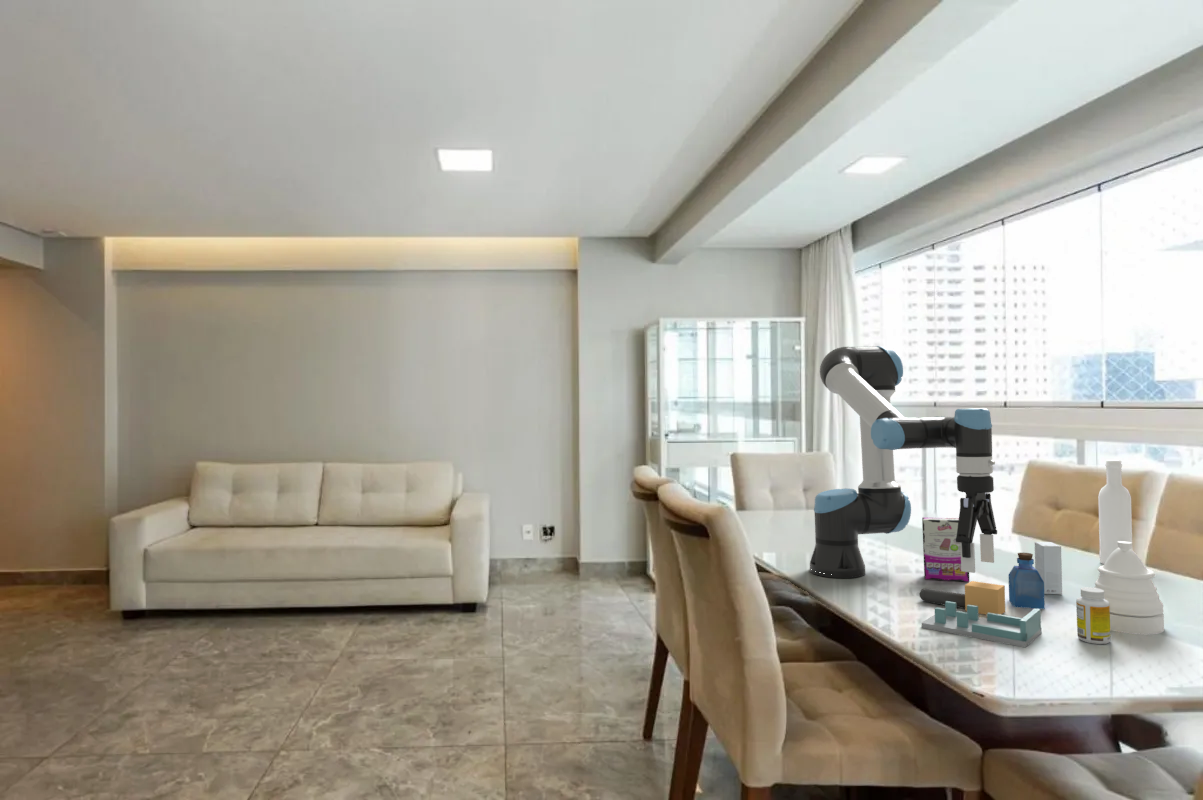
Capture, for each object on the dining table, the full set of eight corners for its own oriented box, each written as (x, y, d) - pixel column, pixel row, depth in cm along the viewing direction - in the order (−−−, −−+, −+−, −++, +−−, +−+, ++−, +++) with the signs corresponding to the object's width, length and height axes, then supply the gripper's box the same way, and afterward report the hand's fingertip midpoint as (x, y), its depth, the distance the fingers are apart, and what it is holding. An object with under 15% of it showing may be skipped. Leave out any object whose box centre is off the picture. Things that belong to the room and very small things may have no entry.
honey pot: (1167, 638, 148) (1165, 548, 148) (1091, 628, 155) (1089, 543, 155) (1160, 621, 159) (1158, 538, 159) (1089, 613, 166) (1087, 533, 166)
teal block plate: (921, 627, 158) (920, 604, 158) (941, 615, 167) (941, 593, 167) (1025, 647, 144) (1024, 621, 144) (1041, 632, 153) (1041, 608, 153)
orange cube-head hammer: (916, 602, 177) (915, 577, 177) (923, 598, 181) (923, 574, 181) (998, 616, 164) (997, 589, 164) (1005, 611, 168) (1004, 585, 168)
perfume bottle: (1038, 602, 175) (1036, 551, 175) (1044, 609, 170) (1043, 557, 170) (1009, 600, 177) (1007, 550, 177) (1014, 607, 172) (1013, 556, 172)
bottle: (1132, 562, 213) (1129, 459, 213) (1134, 568, 206) (1131, 461, 206) (1099, 560, 217) (1096, 458, 217) (1100, 565, 211) (1097, 460, 211)
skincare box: (1063, 594, 181) (1061, 546, 181) (1044, 594, 182) (1042, 546, 182) (1053, 588, 187) (1052, 541, 187) (1034, 588, 188) (1033, 541, 188)
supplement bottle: (1116, 641, 146) (1114, 590, 146) (1102, 647, 143) (1101, 594, 143) (1085, 634, 151) (1084, 584, 151) (1071, 639, 148) (1070, 588, 148)
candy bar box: (968, 578, 200) (966, 517, 200) (969, 582, 195) (968, 520, 195) (923, 575, 204) (921, 516, 204) (923, 579, 199) (922, 519, 199)
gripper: (974, 479, 158) (978, 578, 158) (1008, 471, 176) (1012, 559, 176) (938, 478, 163) (941, 573, 163) (975, 470, 181) (978, 556, 181)
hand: (978, 566), depth 169 cm, fingers open, 13 cm apart
